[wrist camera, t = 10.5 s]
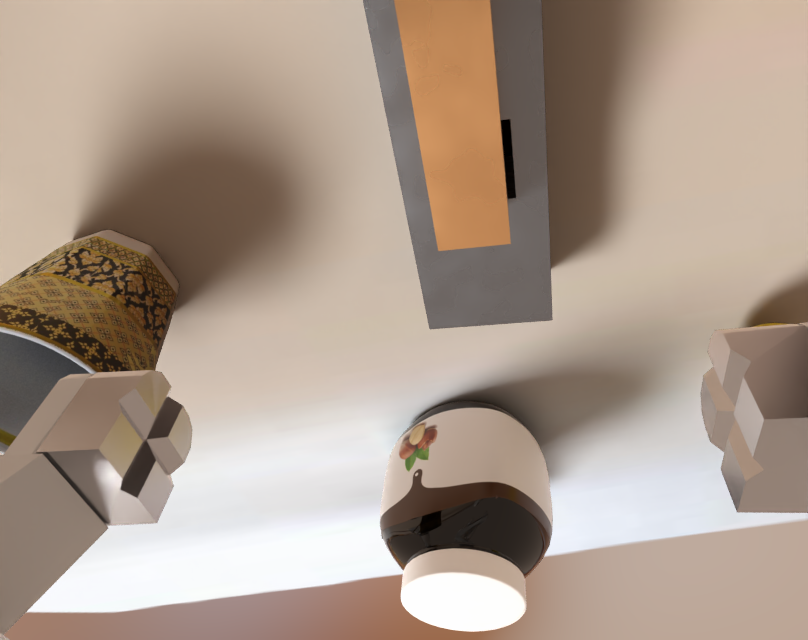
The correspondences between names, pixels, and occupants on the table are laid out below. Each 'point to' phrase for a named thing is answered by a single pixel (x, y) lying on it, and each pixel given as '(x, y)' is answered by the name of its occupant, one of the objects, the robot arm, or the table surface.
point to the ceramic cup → (80, 320)
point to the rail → (525, 173)
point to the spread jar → (466, 515)
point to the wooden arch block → (457, 118)
